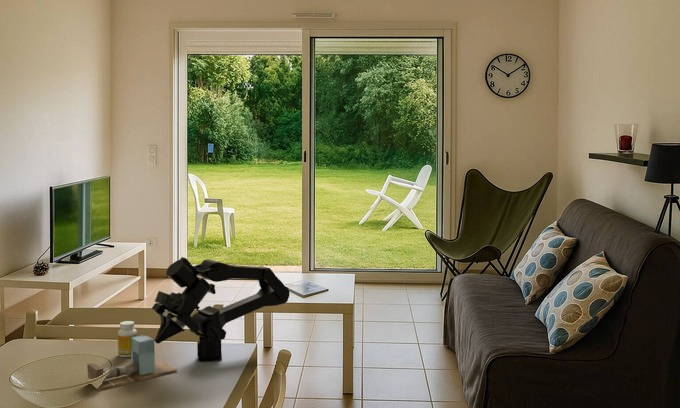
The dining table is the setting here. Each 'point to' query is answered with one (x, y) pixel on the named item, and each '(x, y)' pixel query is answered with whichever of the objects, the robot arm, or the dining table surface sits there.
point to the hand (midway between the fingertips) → (156, 342)
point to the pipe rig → (125, 374)
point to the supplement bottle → (125, 338)
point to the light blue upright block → (143, 353)
